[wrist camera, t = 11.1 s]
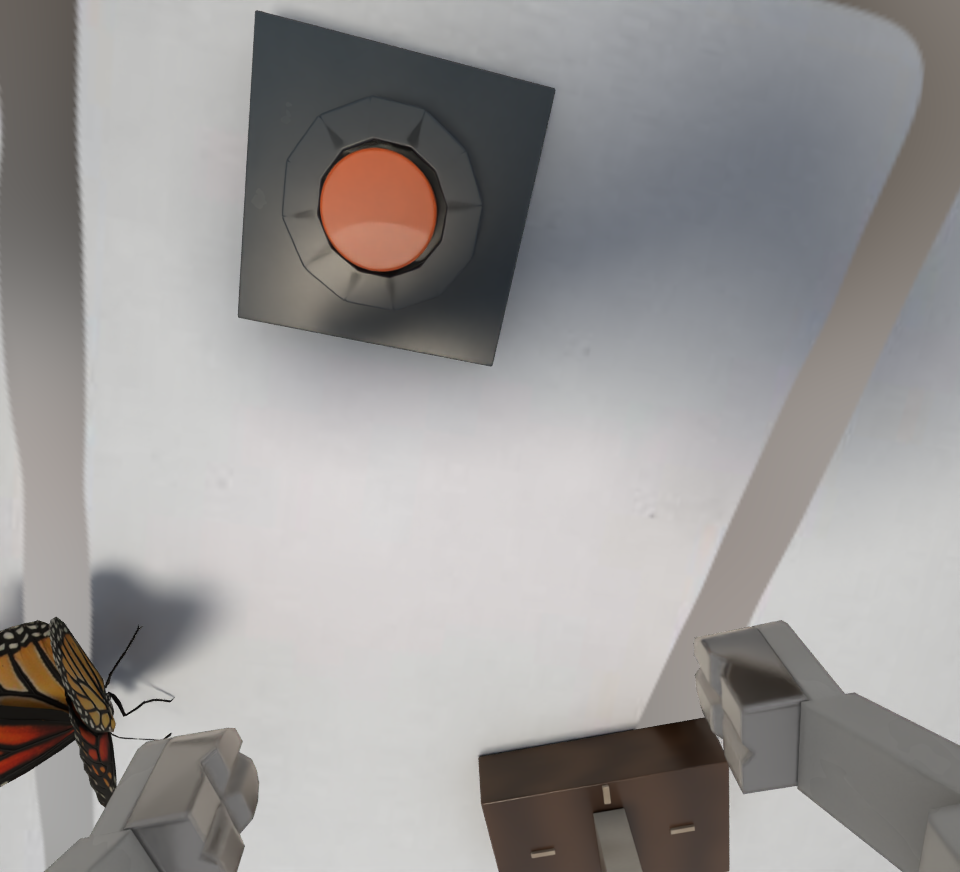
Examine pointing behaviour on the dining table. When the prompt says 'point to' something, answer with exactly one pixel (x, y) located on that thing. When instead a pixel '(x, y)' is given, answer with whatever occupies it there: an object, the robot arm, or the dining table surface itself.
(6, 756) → the butterfly
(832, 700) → the robot arm
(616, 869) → the dial knob
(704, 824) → the dial panel
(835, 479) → the dining table surface
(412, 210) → the orange button
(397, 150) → the button box
